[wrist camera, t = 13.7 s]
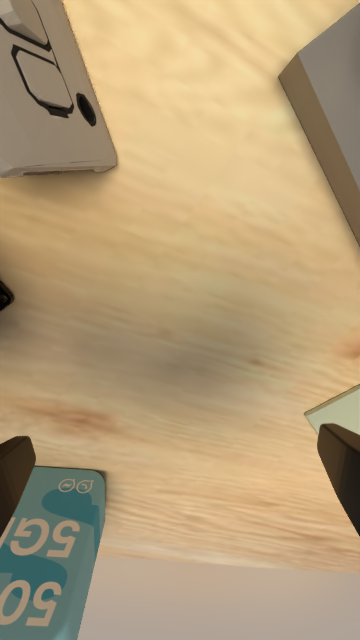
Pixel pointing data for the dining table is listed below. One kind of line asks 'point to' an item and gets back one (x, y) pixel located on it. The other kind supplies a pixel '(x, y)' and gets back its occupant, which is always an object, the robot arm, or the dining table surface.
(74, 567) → the data package
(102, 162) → the electrical switch
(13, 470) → the robot arm
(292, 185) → the dining table surface
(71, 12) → the dining table surface
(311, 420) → the coaster
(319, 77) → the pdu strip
